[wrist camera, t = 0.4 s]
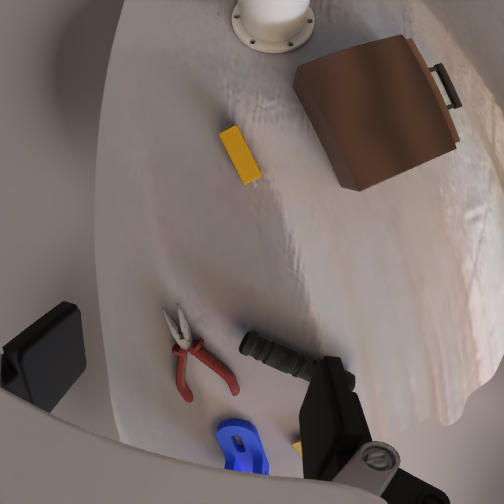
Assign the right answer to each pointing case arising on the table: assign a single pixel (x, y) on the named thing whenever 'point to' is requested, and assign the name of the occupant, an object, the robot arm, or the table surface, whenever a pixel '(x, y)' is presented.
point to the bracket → (242, 447)
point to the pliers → (199, 352)
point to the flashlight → (282, 357)
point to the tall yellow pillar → (240, 155)
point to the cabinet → (373, 111)
